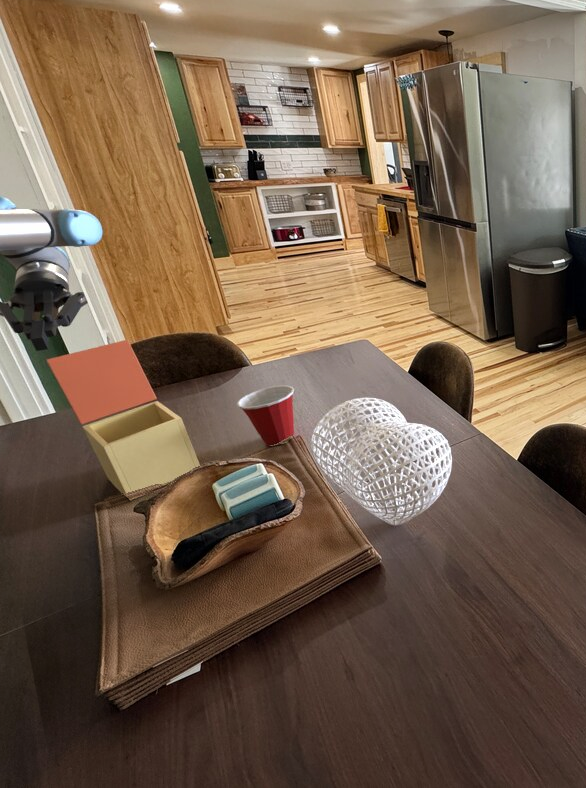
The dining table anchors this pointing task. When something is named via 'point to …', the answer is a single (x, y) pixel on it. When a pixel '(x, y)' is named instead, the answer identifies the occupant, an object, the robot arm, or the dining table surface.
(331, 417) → the heart
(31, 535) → the dining table surface
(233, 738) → the dining table surface
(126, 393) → the lid
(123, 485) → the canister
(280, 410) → the plastic cup
